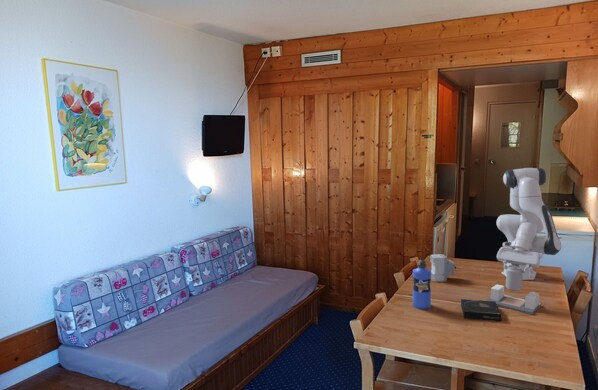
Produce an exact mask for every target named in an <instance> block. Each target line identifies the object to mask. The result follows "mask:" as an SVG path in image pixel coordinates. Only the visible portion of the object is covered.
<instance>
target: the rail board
mask: <svg viewBox="0 0 598 390" xmlns="http://www.w3.org/2000/svg"><path fill="white" fill-rule="evenodd" d="M486 301H495V302H496V304H497V306H498V308H499V307H500V308H504V309H507V310H510V309H511V310H510V311H515V312H518V311H519V313H522V312H523V313H522V314H527V315H530V316H532V315H534V313H536V312H537V310H538V308H539V307H540V306H541V307H542V303H541V302H540V293H538V292H533V291H529V293H527V294H526V295H525V299H524V298H519V297H514V296H511V295H507V294H505V285H501V284H495V285H494V286H492V287H491V288H490V298H488V300H486ZM539 309H540V308H539Z"/></svg>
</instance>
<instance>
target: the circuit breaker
mask: <svg viewBox="0 0 598 390" xmlns="http://www.w3.org/2000/svg"><path fill="white" fill-rule="evenodd" d="M429 257H430V258H429V262H430V263H431V280H432V282H433V283H435V282H448V276H455V270H456V269H457V267H456V265H455V262H453V261H452V260H451V259H448V257H447V255H445V254H442V253H440V254H438V253H437V254H436V253H435V254H430V256H429Z"/></svg>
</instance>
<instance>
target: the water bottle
mask: <svg viewBox="0 0 598 390" xmlns="http://www.w3.org/2000/svg"><path fill="white" fill-rule="evenodd" d="M426 262H427V261H426V260H425V259H422V258H421V259H419V260H418V263H417V268H414V269H412V281H413V286H412V287H413V288H412V306H413V308H415V309H418V310H419V309H420V310H429V309H431V303H432V300H431V299H432V296H431V294H432V293H431V292H432V289H431V280H432V279H431V275H432V273H431V270H432V269H431V270H430V269H428V268H427V263H426Z"/></svg>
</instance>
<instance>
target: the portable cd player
mask: <svg viewBox="0 0 598 390" xmlns="http://www.w3.org/2000/svg"><path fill="white" fill-rule="evenodd" d="M460 306H461V311H462V315H463V318H464V319H465V320H477V321H487V322H488V321H490V322H502V313H501V311H500V308H499V307H498V306H497V304H496V302H495V301H487V300H480V299H466V298H461V299H460Z"/></svg>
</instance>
